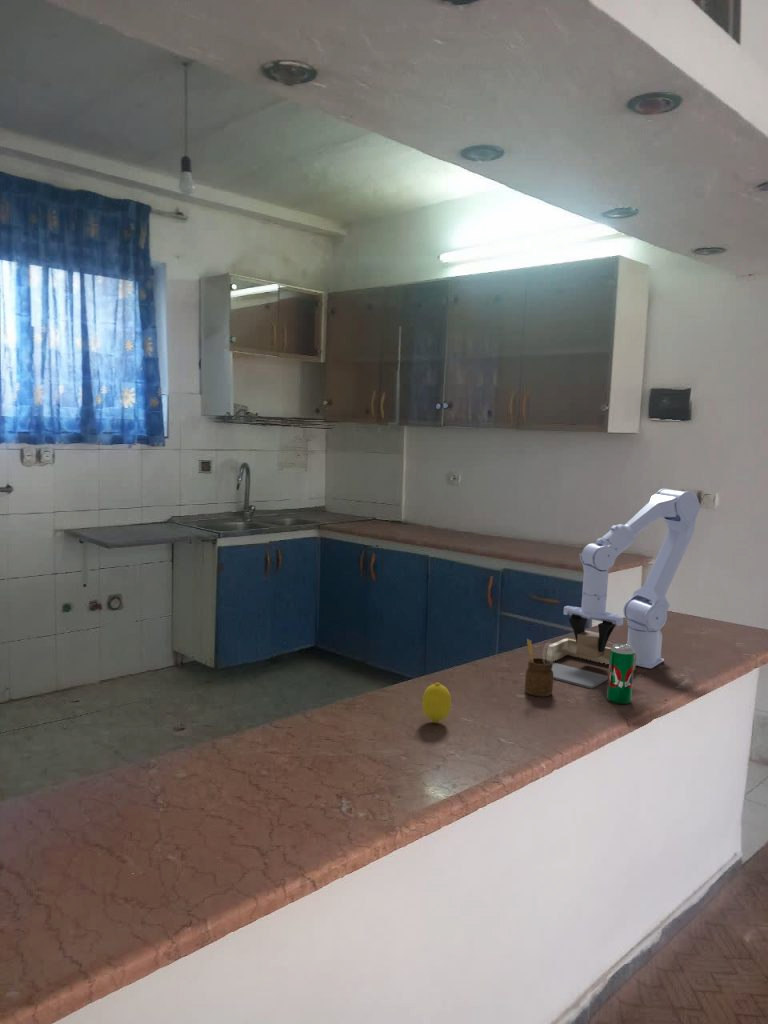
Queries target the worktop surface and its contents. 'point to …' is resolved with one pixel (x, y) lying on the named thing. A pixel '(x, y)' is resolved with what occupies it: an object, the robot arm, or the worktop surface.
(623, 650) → the soda can
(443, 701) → the lemon
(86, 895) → the worktop surface
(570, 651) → the beige angled piece
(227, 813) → the worktop surface
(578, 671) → the rubber mat
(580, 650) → the wooden cube
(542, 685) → the utensil holder
